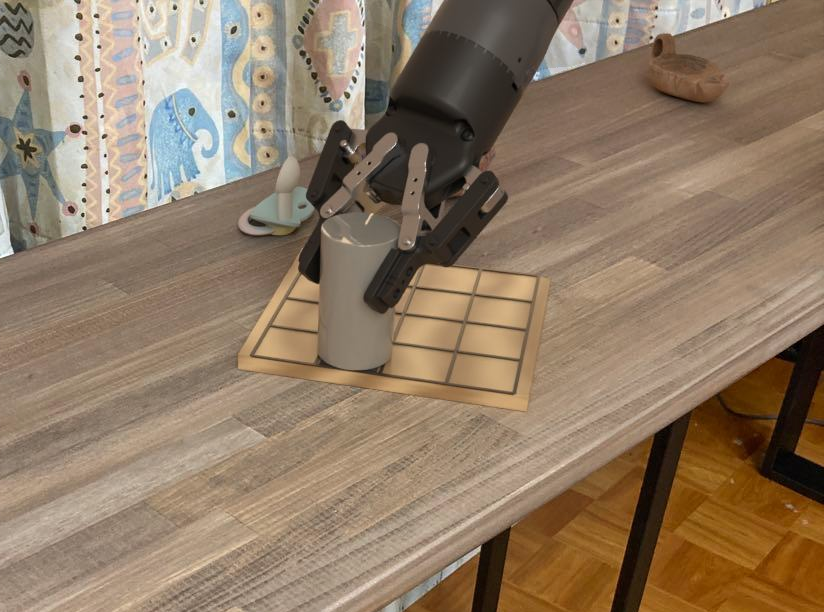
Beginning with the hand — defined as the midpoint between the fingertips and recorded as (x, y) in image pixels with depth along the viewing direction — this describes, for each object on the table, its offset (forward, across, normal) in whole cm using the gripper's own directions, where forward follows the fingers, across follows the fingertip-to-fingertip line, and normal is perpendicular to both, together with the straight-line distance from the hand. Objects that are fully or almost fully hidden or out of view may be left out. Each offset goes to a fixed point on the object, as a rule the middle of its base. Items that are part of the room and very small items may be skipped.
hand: (340, 291), depth 74 cm
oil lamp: (-47, -16, +56) cm, 75 cm away
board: (-2, -1, +11) cm, 11 cm away
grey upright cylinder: (+2, 0, +5) cm, 5 cm away
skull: (-17, -18, +27) cm, 37 cm away
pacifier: (-6, -21, +15) cm, 26 cm away
